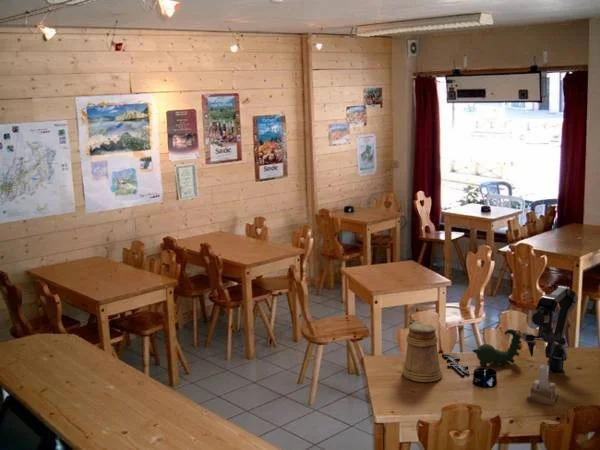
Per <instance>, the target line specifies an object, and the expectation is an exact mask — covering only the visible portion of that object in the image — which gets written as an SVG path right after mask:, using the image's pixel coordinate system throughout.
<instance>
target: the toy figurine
mask: <svg viewBox="0 0 600 450" xmlns="http://www.w3.org/2000/svg"><path fill="white" fill-rule="evenodd" d="M507 334H510V335H511V336H512V338H511V343H510V344H509V347H508V348H507V350H505V351H503V350H501V351H500V350H499V349H496V348H495V347H494V346H493V345H492V344H489V343H484V344H481V345H480V346H478V348H476V349H475V348H474V349H472V352H473V353H474V354H476V357H477V360H479V365H480V366H481V367H483V368H486V367H487V366H488V364H494V366H495V367H499V366H500V364H501V365H503V367H507V365H508V362H510V363H511V364H513V363H515V359H514V357H519V356H520V352H518V350H521V349H522V348H521V346H520V345H519V344H522V340H520V339H522V335H521V334H520V333H518V332H516V330H514V329H513V328H510V329H507V330H506V331H505V332H504V335H507Z"/></svg>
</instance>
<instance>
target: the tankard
mask: <svg viewBox="0 0 600 450" xmlns="http://www.w3.org/2000/svg"><path fill="white" fill-rule="evenodd" d="M408 323H409V324H408V325H409V326H408V334H407V336H406V339H405V342H406V344H407V347H406V352H405V362H404V364H403V366H402V375H403V376H404V377H405V378H406V379H408V380H410V381H413V382H418V383H430V382H435V381H439V380H440V379H441V378H443V371H442V368H441V366H440V359H439V354H438V353H439V352H438V345H437V343H438V335H437V334H436V330H437V329H436V327H435V326H434V325H432V324H430V323H429V324H428V323H424V322H422V321H421V320H418V319H417V318H416V317H413V318H412V320H410V321H409V322H408Z"/></svg>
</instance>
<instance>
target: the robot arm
mask: <svg viewBox="0 0 600 450" xmlns="http://www.w3.org/2000/svg"><path fill="white" fill-rule="evenodd" d="M578 299H579V297H578V294H577V293H576V292H575V291H573V290H572V289H571V288H570V287H569V286H565V285H558V286H557V288H556V289H555V290H554V291H553V292H551V293H550V294H544V295H542V296H541V297H540V298H539V300H538V302H537V304H536V307H535V311H536V312H535V313H534V314H533V315H532V317H531V321H532V323H533V324H534V325H535V326H537V328H538V331H537V333H536V335H534V334H533V333H529V332H523V333H522V334H521V340H523V341H524V342H526V344H527V347H528V350H529V354H530V357H533V356H534V355H533V354H534V345H535V341H541V342H544V343H546V345H545V347H544V348H545V349H544V353H545V358H547V359H548V360H547V361H546V363H547V364H546V365H549V372H551V374H552V373H553V374H555V373H557V374H558V373H565V372H566V371H565V369H564V363H565V361H567V358H568V353H567V351H566V344H567V339H566V338H565V333H566V329H567V327H568V326H567V325H568V321H569V317H570V312H572V310H573V309H574V308H575V307H576V304H577V303H578ZM558 308H559V311H558V316H557V318H556V319H557V320H556V323H555V328H554V327H553V323H554V315H555V312H556V310H557V309H558Z"/></svg>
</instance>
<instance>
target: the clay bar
mask: <svg viewBox="0 0 600 450" xmlns="http://www.w3.org/2000/svg"><path fill="white" fill-rule="evenodd" d="M549 372H550V371H549V365H547V364H543V363H542V364H540V366H539V373H538V375H539V376H538V377H539V379H538V380H539V389H540V390H546V391H547V389H548V387H549Z"/></svg>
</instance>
